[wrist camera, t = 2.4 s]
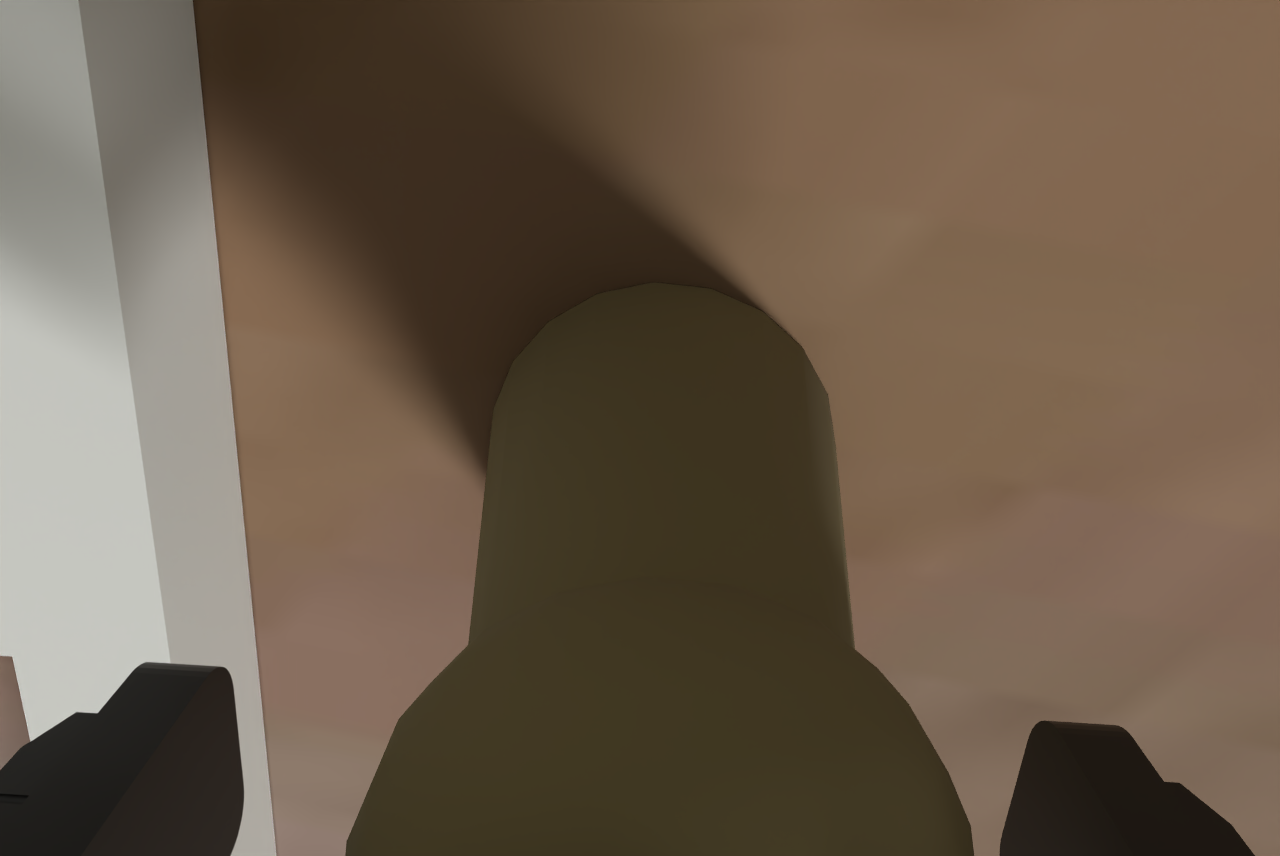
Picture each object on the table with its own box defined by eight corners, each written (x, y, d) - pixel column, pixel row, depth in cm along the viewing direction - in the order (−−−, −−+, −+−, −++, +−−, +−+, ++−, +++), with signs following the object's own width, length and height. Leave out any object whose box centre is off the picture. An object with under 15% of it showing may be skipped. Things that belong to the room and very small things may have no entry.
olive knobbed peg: (418, 426, 17) (24, 1036, 6) (691, 205, 15) (749, 539, 5) (637, 654, 18) (603, 1427, 8) (902, 476, 17) (1277, 1151, 7)
